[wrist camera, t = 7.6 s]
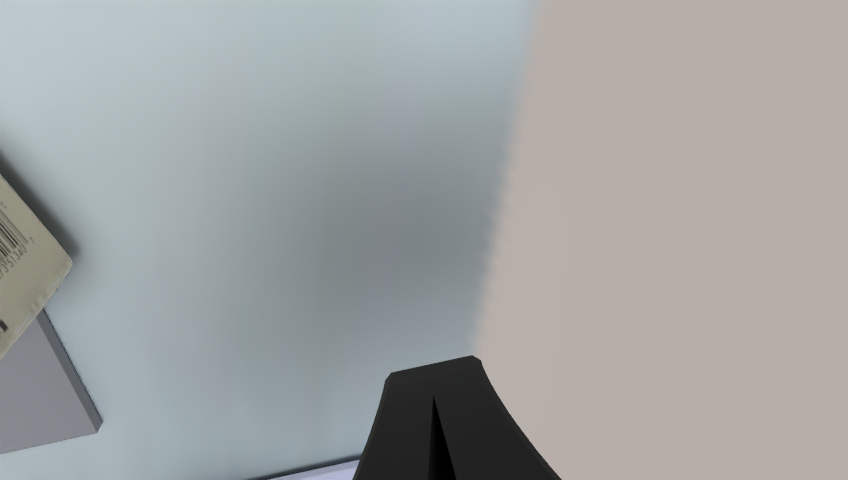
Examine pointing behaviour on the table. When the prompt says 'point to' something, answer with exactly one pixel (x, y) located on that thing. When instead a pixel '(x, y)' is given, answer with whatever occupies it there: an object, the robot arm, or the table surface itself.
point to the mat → (41, 392)
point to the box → (25, 266)
